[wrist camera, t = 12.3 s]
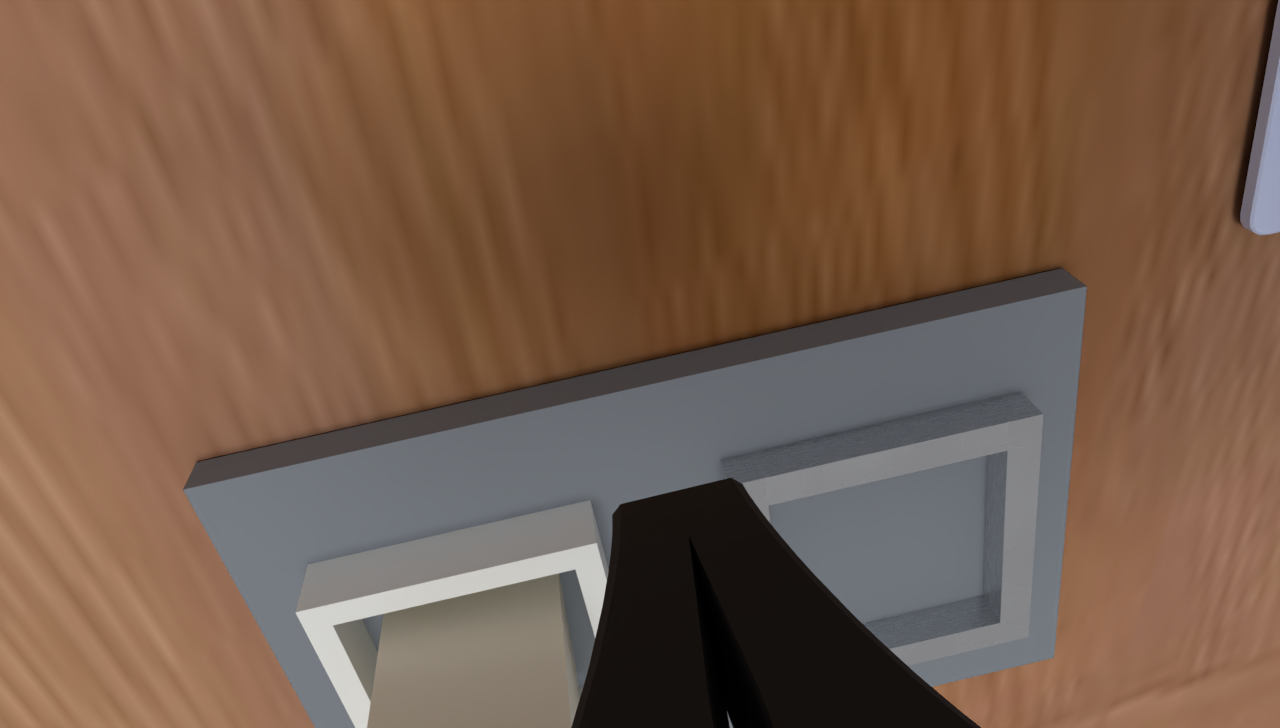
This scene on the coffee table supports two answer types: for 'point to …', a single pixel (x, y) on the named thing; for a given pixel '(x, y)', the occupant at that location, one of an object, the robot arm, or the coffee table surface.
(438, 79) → the coffee table surface
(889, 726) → the robot arm
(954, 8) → the coffee table surface
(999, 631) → the frame
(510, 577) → the port
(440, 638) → the plug
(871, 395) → the panel plate
